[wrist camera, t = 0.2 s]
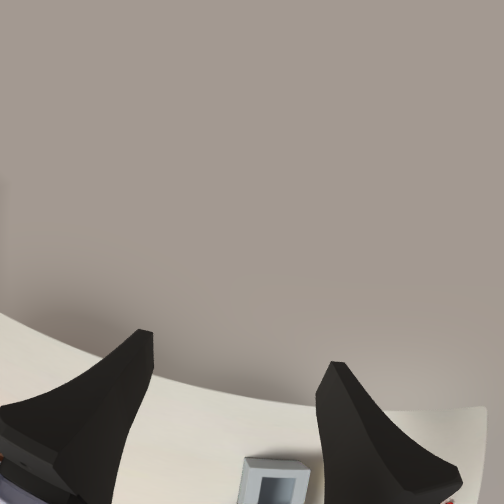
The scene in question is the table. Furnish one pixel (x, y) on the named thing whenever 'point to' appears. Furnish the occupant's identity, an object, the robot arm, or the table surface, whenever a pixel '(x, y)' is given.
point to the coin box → (273, 482)
